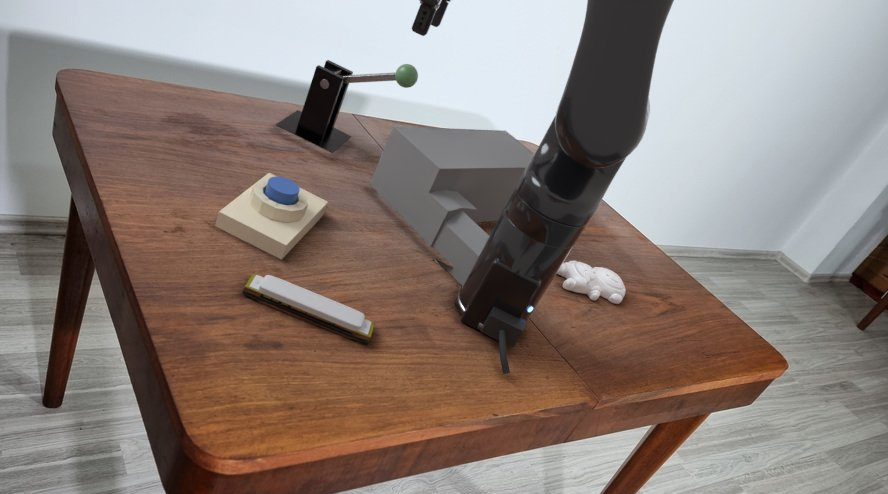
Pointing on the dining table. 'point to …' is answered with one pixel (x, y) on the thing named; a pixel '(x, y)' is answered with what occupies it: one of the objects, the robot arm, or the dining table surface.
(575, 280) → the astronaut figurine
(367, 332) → the harmonica
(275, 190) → the blue button
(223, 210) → the switch box
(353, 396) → the dining table surface
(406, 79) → the green lever
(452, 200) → the gray stepped block
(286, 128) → the lever bracket
